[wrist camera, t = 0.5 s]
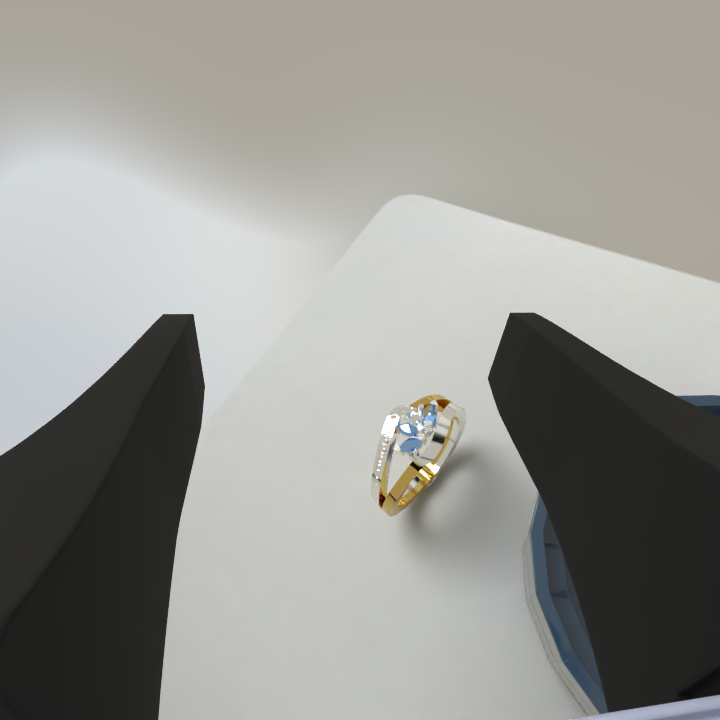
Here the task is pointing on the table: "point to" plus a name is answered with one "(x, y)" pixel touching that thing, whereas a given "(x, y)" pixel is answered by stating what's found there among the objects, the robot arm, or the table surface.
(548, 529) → the bowl
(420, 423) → the ring
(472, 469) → the table surface
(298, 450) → the table surface
